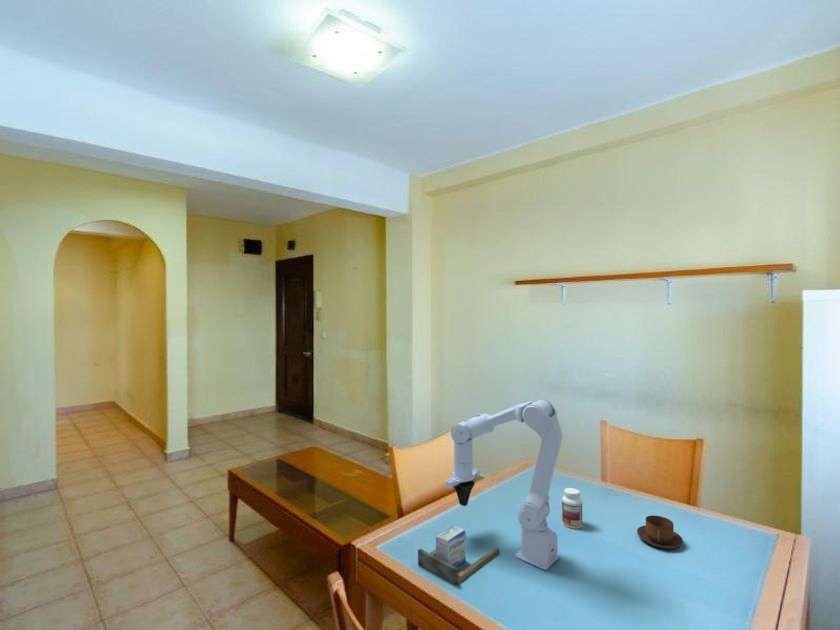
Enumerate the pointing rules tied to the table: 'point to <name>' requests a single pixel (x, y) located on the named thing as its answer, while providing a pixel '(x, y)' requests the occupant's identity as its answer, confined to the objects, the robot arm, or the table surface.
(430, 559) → the u-shaped wooden frame
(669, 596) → the table surface
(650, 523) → the cup and saucer
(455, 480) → the robot arm
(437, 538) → the medicine box
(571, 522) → the pill bottle
